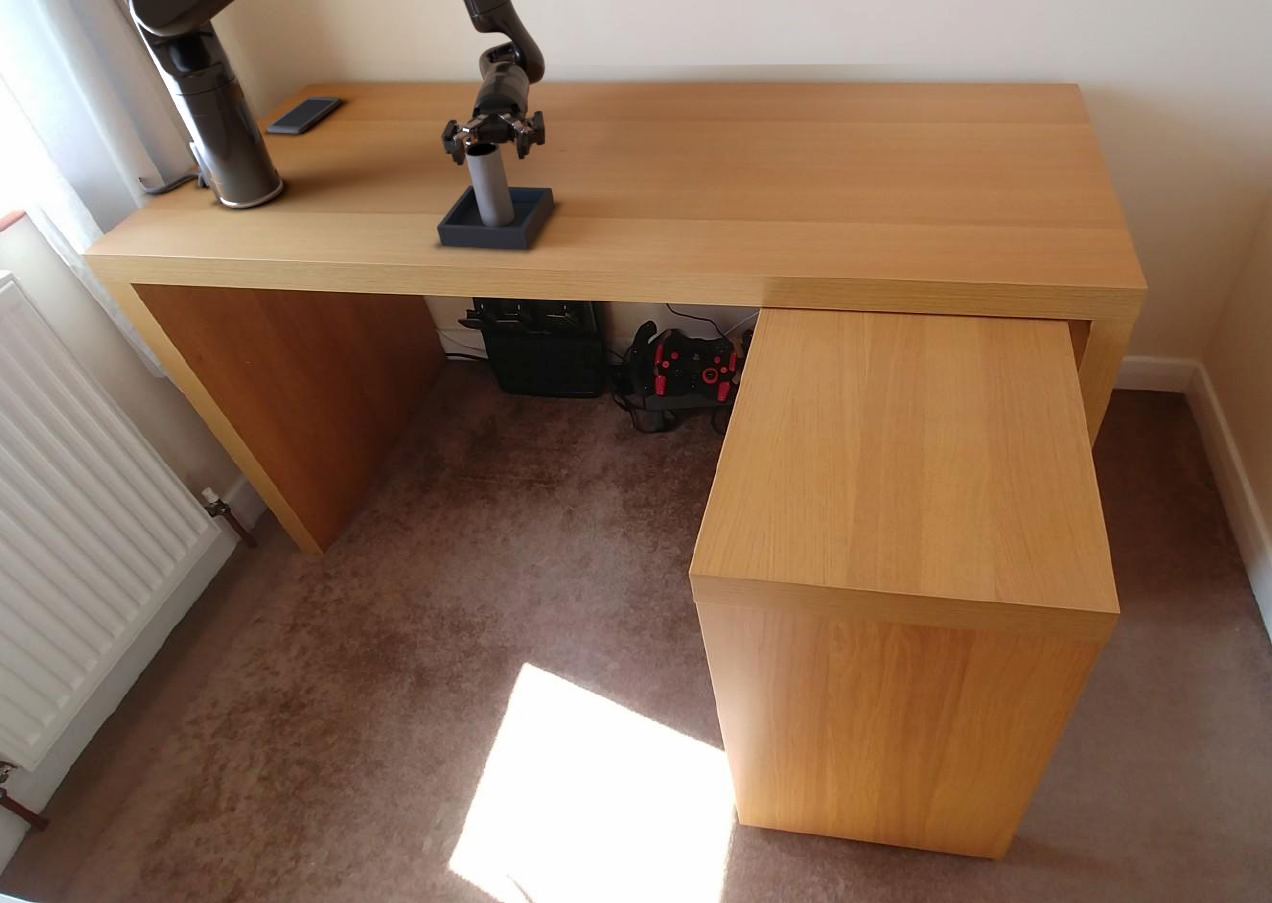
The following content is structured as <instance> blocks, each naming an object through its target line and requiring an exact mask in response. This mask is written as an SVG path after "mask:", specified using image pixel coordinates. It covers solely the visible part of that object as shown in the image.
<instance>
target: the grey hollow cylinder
mask: <svg viewBox="0 0 1272 903" xmlns="http://www.w3.org/2000/svg"><path fill="white" fill-rule="evenodd" d="M465 155H466V157H465V160H466V162H467V166H468V170H469V174H470V179H471V183H472V186H473V187H474V191H475V195H476V199H477V203H478V206H479V210H480V214H481V218H482V222H483V224H484V225H486V226H491V227H501V226H505V225H507V224H509V223H511V222H512V221H513V219H514V217H515V216H514V210H513V206H512V201H511V197H510V192H509V188H508V187H509V183H508V180H507V174H506V170H505V166H504V160H503V156H502V152H501V148H500V144H498V143H496V142H494V141H479V142H477V141H476V143H473V144H471V145H469V146H468V147H467V148H466V149H465Z"/></svg>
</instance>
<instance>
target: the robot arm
mask: <svg viewBox="0 0 1272 903" xmlns="http://www.w3.org/2000/svg"><path fill="white" fill-rule="evenodd" d="M123 1H124V3H125V6H126V7H127V9H128V11H129V14H130V15H131V17H132V20H133V22H134V24H135V25H136V28H137V30H138V31H139V33H140V36H141V38H142V40H143V41H144V44H145V45H146V48H147V50H148V52H149V54H150V56H151V58H152V61H153V63H154V64H155V67H156V68H157V70H158V72H159V74H160V76H161V78H162V80H163V82H164V84H165V86H166V88H167V90H168V92H169V93H170V97H171V98H172V100H173V102H174V104H175V106H176V108H177V110H178V112H179V114H180V116H181V118H182V120H183V123H184V124H185V126H186V129H187V130H188V132H189V133H188V134H190V138H192V140H191V141H190V142H189V146H190V149H191V150H192V153H193V155H194V156H195V158H196V161H197V162H198V166H197V169H198V171H193V172H188V173H186V174H184V175H181V176H179V177H178V178H176V179H174V180H172V181H171V182H169V183H166V184H165V185H162V186H158V187H147V186H146V187H147V188H146V189H144V190H143V191H144V192H145V193H149V194H155V193H157V194H158V193H161V192H164V191H168V190H169V189H171V188H173V187H176V186H177V185H178V184H181V183H183V182H184V181H187V180H189V179H192V178H194V177H195V178H196V177H198V180H197V182H198V183H197V185H198V187H199V188H203V187H204V185H206V186H207V187H209V188H210V189H211V191H212V193H213V195H214V197H215V200H216V201H217V203H222V204H223V205H224V206H226V207H228V208H232V209H245V208H250V207H255V206H259V205H261V204H264V203H267V202H269V201H271V200H272V199H274V198H275V197H277V196H278V195H280V194H281V192H282V191H283V189H284V183H283V180H282V179H281V177H280V174H279V171H278V169H277V167H276V165H275V164H274V161H273V159H272V157H271V154H270V152H269V149H268V147H267V145H266V142H265V140H264V138H263V136H262V132H261V131H260V128H259V126H258V124H257V121H256V119H255V117H254V115H253V114H254V113H253V111H252V110H251V107H250V105H249V102H248V100H247V98H246V95H245V93H244V91H243V88H242V86H241V84H240V81H239V79H238V77H237V74H236V72H235V70H234V67H233V64H232V63H231V61H230V60H231V59H230V58H229V55H228V54H227V51H226V50H225V48H224V45H223V44H222V42H221V40H220V38H219V36H218V34H217V31H216V30H215V27H214V26H213V23H212V19H214V17H216V16H217V15H219V14H220V13H221V12H223V10H225V9H226V8H227V7H229V5H231V4H232V3H233V2H235V1H236V0H123ZM462 1H463V4H464V6H465V9H466V12H467V13H468V18H469V19H470V21H471V24H472V26H473V28H474V30H475V31H476V32H478V33H479V34H503V35H504V36H506V37H507V38H508V39H510V41H507V42H504V43H501V44H498V45H494V46H491V47H490V48H487V49H485V50H484V51H483V52H482V53H481V54H480V56H479V58H478V67H479V71H480V74H481V75H480V76H481V78H482V80H483V82H482V83H481V86H480V87H479V90H478V94H477V96H476V99H475V102H474V106H473V109H472V116H471V119H470V120H468V121H467V123H466V124H465V123H463V124H459V123H458V120H457V119H449V120H448V121H447V124H446V125H445V127H444V130H443V132H442V134H441V136H440V137H441V141H442V145H443V150H444V152H445V155H451V158H452V162H453V163H456V165H457V166H458V167H459V166H464V163H465V160H466V155H465V149H466V148H467V147H468V146H469V145H471V144H473V143H476V142H479V141H494V142H496V143H498V144H499V145H505V144H511V145H512V146H514V147H515V148H516V153H517V158H518V160H519V161H520V160H525V157H526V156H528V155H529V154H530V152H531V148H532V147H533V144H536V145H537V146H543V145H545V144H546V125H545V120H544V115H543V111H542V110H536V111H534V112H533V115H531V116H530V117H527V114H528V111H529V100H528V99H529V93H530V86H531V85H534V84H537V83H539V82H540V81H541V80H543V78H544V76H545V73H546V72H545V71H546V62H545V57H544V55H543V53H542V51H541V49H540V47H539V46H538V44H537V42H536V41H535V39H534V38H533V37H532V35H531V34H530V32H529V31H528V30H527V28H526V27H525V25H524V23H523V22H522V20H521V18H520V16H519V15H518V13H517V11H516V9H515V7H514V4H513V2H512V0H462ZM464 140H465V143H464Z"/></svg>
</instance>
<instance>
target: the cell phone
mask: <svg viewBox="0 0 1272 903" xmlns="http://www.w3.org/2000/svg"><path fill="white" fill-rule="evenodd" d="M341 104H342V99H341V98H340V97H332V96H331V97H330V96H329V97H328V96H307V97H306V98H305V99H304V100H302V101H300V102H299V103H297V104H296V105H295V106H294V107H293V108H291V109H290V110H288V111H286V113H284V114H283V115H281V116H280V117H279V118H276V120H274V121H273V122H271V123H270V124H269V125H267V127H266V130H267V132H268V133H277V134H279V133H280V134H297V135H298V134H302V133H303V132H305V131H306V130H308V129H309V128H311V127H312V126H313V125H314V124H316V123H317V122H318V121H320V120H321V119H322V118H323V117H325V116H326V115H327V114H329V113H330V112H331V111H333V110H334V109H335V108H337V107H338V106H339V105H341Z"/></svg>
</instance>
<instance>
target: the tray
mask: <svg viewBox="0 0 1272 903" xmlns="http://www.w3.org/2000/svg"><path fill="white" fill-rule="evenodd" d="M508 188H509V192H510V197H511V201H512V206H513V210H514V216H515V217H514V219H513V221H512V222H511V223H509V224H507V225H505V226H501V227H491V226H486V225H484V224H483V222H482V218H481V214H480V210H479V206H478V203H477V199H476V195H475V191H474V187H473V185H468V187H467V188H465V190H464V191H463V193H462V194H461V195H460V197H459V198H458V199H457V201H456V202H455V203H454V204H453V205H452V207H451V208H450V209H449V210H448V212H447V213H446V214H445V216H444V217H443V218H442V219H441V220H440V222H439V223H438V224H437V225H436V230H437V233H438V237H439V240H440V243H441V246H445V247H446V246H447V247H466V248H467V247H468V248H485V249H486V248H487V249H507V250H509V249H510V250H527V251H528V250H529V249H530V247H531V246H532V244H533V243H534V240H535V239H536V237H537V236H538V235H539V232H540V231H541V229H542V227H543V226H544V224H545V223H546V221H547V220H548V218H549V216H550V214H551V213H552V211H553V210H554V208H555V207H556V205H555V198H554V195H553V189H552V187H534V186H533V187H532V186H531V187H529V186H528V187H527V186H508Z"/></svg>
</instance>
